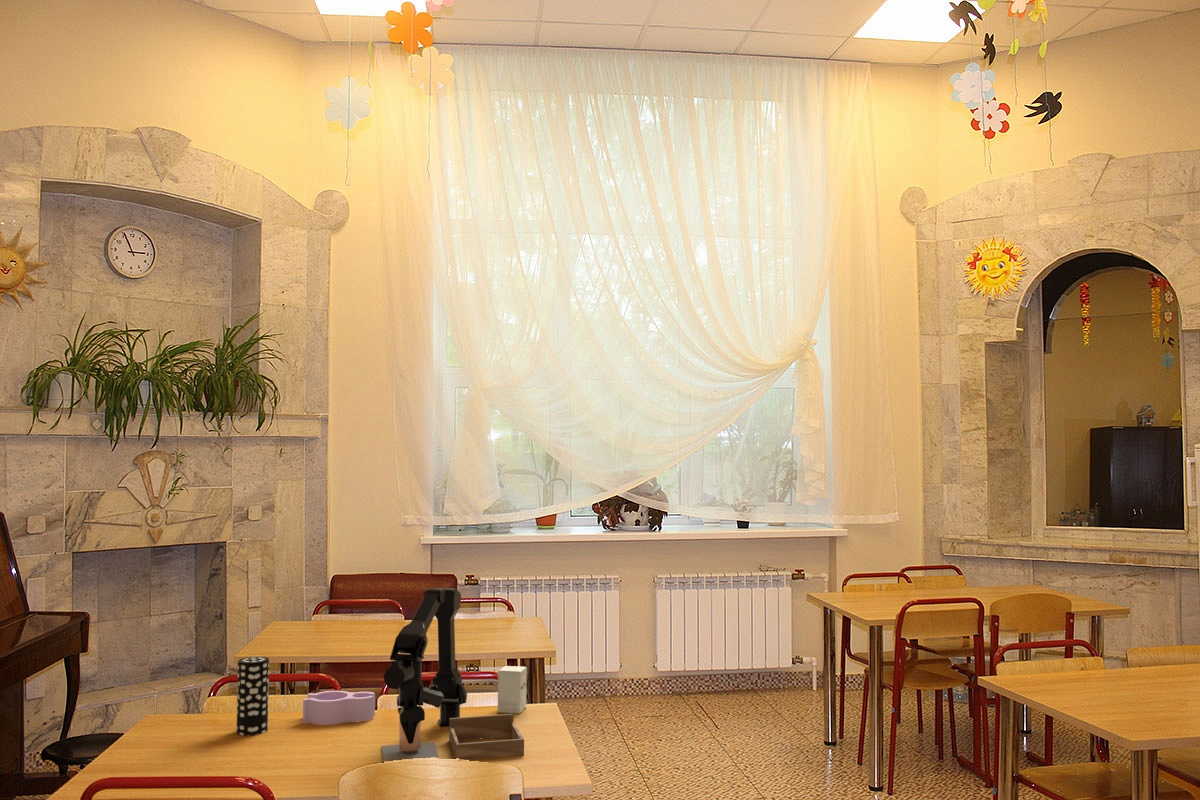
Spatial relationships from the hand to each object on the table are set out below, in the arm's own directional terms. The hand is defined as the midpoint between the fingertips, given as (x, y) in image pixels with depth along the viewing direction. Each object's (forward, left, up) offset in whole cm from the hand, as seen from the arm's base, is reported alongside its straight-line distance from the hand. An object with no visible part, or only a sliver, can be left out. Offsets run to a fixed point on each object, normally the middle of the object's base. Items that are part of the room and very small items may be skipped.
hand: (410, 740), depth 247 cm
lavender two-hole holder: (-39, -18, -4) cm, 43 cm away
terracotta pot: (0, 0, -2) cm, 2 cm away
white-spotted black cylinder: (-32, -42, -4) cm, 53 cm away
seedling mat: (0, 0, -4) cm, 4 cm away
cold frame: (0, +20, -4) cm, 20 cm away
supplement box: (-35, +33, -4) cm, 48 cm away
